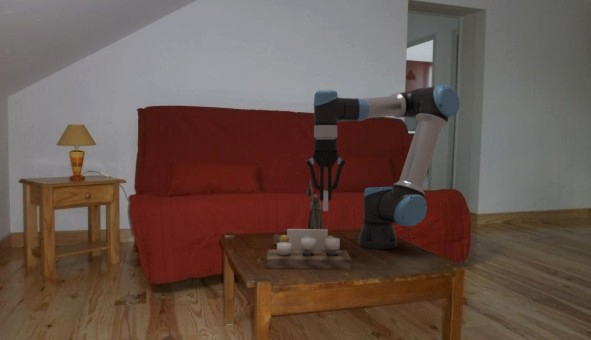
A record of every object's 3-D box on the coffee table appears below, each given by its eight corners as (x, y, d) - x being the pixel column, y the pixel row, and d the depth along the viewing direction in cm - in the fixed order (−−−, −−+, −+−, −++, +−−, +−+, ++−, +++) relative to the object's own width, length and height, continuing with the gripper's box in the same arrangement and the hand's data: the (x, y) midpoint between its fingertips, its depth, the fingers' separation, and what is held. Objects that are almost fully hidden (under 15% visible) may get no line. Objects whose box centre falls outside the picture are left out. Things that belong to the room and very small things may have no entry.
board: (345, 258, 148) (346, 250, 148) (351, 269, 136) (351, 259, 136) (268, 258, 147) (268, 249, 147) (266, 268, 135) (266, 258, 135)
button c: (291, 259, 144) (291, 242, 143) (291, 263, 139) (291, 245, 139) (276, 259, 144) (277, 242, 143) (276, 263, 139) (276, 245, 138)
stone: (284, 251, 157) (285, 238, 156) (271, 244, 167) (271, 232, 166) (305, 249, 161) (306, 236, 161) (291, 242, 171) (292, 230, 171)
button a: (338, 254, 144) (338, 237, 144) (340, 258, 139) (340, 240, 139) (324, 254, 144) (324, 237, 143) (325, 258, 139) (326, 240, 139)
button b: (314, 254, 144) (315, 237, 143) (315, 258, 139) (316, 240, 139) (300, 254, 144) (300, 237, 143) (301, 258, 139) (301, 240, 138)
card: (334, 258, 149) (335, 229, 148) (334, 258, 147) (335, 230, 147) (279, 257, 148) (279, 228, 147) (279, 258, 147) (279, 229, 146)
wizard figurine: (302, 241, 173) (304, 179, 172) (298, 236, 182) (300, 178, 180) (327, 240, 175) (328, 179, 174) (322, 235, 184) (323, 178, 182)
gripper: (344, 138, 143) (343, 208, 145) (305, 138, 143) (305, 208, 145) (347, 138, 135) (346, 212, 137) (305, 138, 135) (306, 212, 137)
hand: (325, 210), depth 141 cm, fingers closed
